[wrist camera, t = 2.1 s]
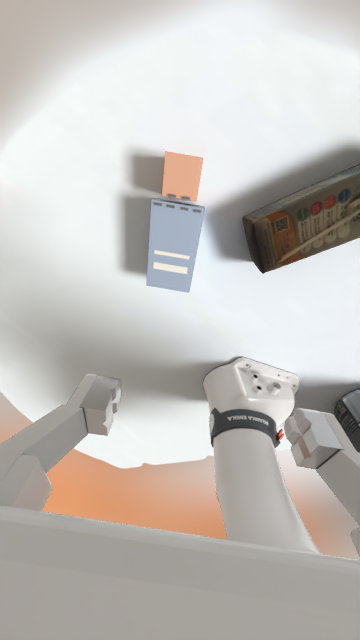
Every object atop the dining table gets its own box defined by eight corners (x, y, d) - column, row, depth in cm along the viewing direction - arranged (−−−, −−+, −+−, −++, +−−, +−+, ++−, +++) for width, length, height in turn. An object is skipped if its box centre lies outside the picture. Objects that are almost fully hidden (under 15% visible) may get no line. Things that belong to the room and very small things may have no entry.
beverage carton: (385, 213, 29) (429, 218, 23) (251, 264, 34) (261, 278, 29) (388, 148, 25) (442, 135, 20) (238, 217, 31) (247, 222, 25)
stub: (202, 163, 27) (202, 157, 23) (196, 200, 29) (195, 201, 25) (170, 157, 27) (165, 151, 23) (166, 195, 29) (161, 195, 25)
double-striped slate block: (204, 206, 30) (204, 208, 26) (190, 281, 36) (189, 293, 32) (158, 198, 30) (151, 199, 26) (152, 274, 36) (146, 285, 32)
